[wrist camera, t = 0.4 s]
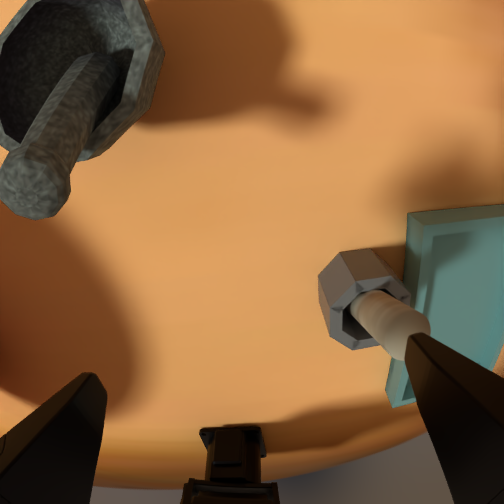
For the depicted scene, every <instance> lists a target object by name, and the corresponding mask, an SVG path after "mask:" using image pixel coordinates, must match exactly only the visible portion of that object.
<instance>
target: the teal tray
mask: <svg viewBox="0 0 504 504" xmlns="http://www.w3.org/2000/svg"><path fill="white" fill-rule="evenodd" d="M403 284H404V286H405V287H406V288H407V289H408V291H409V292H410V293H411V298H410V305H409V306H410V307H411V308H413V309H415V310H417V311H418V312H420V313H422V314H423V315H425V316H426V317H427V319H428V321H429V323H430V327H431V335H430V336H431V337H432V338H434V339H436V340H438V341H439V342H441V343H443V344H445V345H446V346H448V347H450V348H452V349H453V350H455V351H457V352H459V353H460V354H462V355H464V356H466V357H467V358H469V359H471V360H473V361H474V362H476V363H478V364H480V365H481V366H483V367H485V368H487V369H488V370H490V371H492V370H493V368H494V366H495V363H496V361H497V359H498V356H499V354H500V351H501V349H502V346H503V344H504V204H501V205H489V206H477V207H466V208H455V209H445V210H434V211H424V212H414V213H407V234H406V250H405V263H404V274H403ZM385 391H386V393H387V396H388V398H389V401H390V403H391V406H392V408H395V407H399V406H403V405H406V404H410V403H414V402H416V399H415V395H414V392H413V388H412V385H411V382H410V379H409V375H408V372H407V369H406V366H405V361H401V360H396V359H394V358H393V357H392V359H391V364H390V369H389V374H388V379H387V384H386V388H385Z"/></svg>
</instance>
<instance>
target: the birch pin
mask: <svg viewBox="0 0 504 504" xmlns="http://www.w3.org/2000/svg"><path fill="white" fill-rule="evenodd" d="M345 309H346V310H347V311H348V312H349V313H350V314H351V315H352V316H353V317H354V318H355V319H356V320H357V321H358V322H359V323H360V324H361V325H362V326H363V327H364V328H365V329H366V330H367V331H368V332H369V334H370V335H371V336H372V337H373V338H374V339H375V340H376V341H377V342H378V343H379V344H380V345H381V346H382V347H383V348H384V349H385V350H386V351H387V352H388V354H389V355H390V356H391V357H393V358H394V359H396V360H401V361H404V356H405V350H406V344H407V339H408V336H409V335H411V334H415V333H419V332H423V333H425V334H427V335H429V336H430V335H431V327H430V323H429V321H428V319H427V317H426V316H425V315H423V314H422V313H420V312H418V311H417V310H415V309H413V308H411V307H410V306H408V305H406V304H404V303H403V302H401V301H399V300H397V299H395V298H394V297H392V296H390V295H388V294H386V293H385V292H383V291H381V290H379V289H377V290H371V291H364V292H360V293H359V294H358V295H357V296H356V297H355V298H354V299H353V300H352V301H351V302H350V303H349V304H348V305H347V306H346V307H345Z"/></svg>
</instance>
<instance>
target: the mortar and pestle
mask: <svg viewBox="0 0 504 504" xmlns="http://www.w3.org/2000/svg"><path fill="white" fill-rule="evenodd" d="M164 56H165V51H164V48H163V46H162V43H161V41H160V38H159V36H158V33H157V31H156V28H155V26H154V23H153V21H152V18H151V16H150V13H149V11H148V8H147V6H146V4H145V2H144V0H27V1H26V3H25V4H24V5H23V6H22V7H21V9H20V10H19V11H18V12H17V14H16V15H15V16H14V17H13V19H12V20H11V21H10V22H9V24H8V25H7V26H6V28H5V29H4V30H3V32H2V33H1V35H0V145H1V146H2V147H3V148H5V149H6V150H8V151H9V153H8V155H7V157H6V159H5V160H4V162H3V164H2V166H1V168H0V200H1V201H2V202H3V203H4V204H5V205H6V206H7V207H8V208H9V209H11V210H12V211H13V212H14V213H15V214H16V215H20V216H23V217H26V218H29V219H33V220H39V219H44V218H48V217H53V216H55V215H56V214H57V213H58V211H59V210H60V209H61V208H62V206H63V205H64V204H65V203H66V201H67V200H68V197H69V195H70V192H71V186H70V173H71V171H72V169H73V167H74V165H75V163H76V162H80V161H85V160H89V159H92V158H94V157H97V156H100V155H101V154H102V153H104V152H105V151H106V150H107V149H109V148H110V147H111V146H112V145H113V144H114V143H115V142H116V141H117V140H118V139H119V138H120V137H121V136H122V135H123V134H124V133H125V132H126V131H127V130H128V129H129V128H130V127H131V126H132V125H133V124H134V123H135V122H136V121H137V120H138V119H139V118H140V117H141V116H142V115H143V114H144V113H145V112H146V111H148V110H149V109H150V106H151V102H152V99H153V95H154V91H155V87H156V83H157V80H158V76H159V73H160V69H161V66H162V62H163V59H164Z"/></svg>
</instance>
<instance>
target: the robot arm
mask: <svg viewBox="0 0 504 504" xmlns="http://www.w3.org/2000/svg"><path fill="white" fill-rule="evenodd" d="M404 361H405V366H406V369H407V372H408V375H409V379H410V382H411V385H412V388H413V392H414V395H415V399H416V402H417V405H418V408H419V411H420V414H421V416H422V419H423V421H424V423H425V426H426V428H427V431H428V433H429V435H430V438H431V441H432V443H433V446H434V448H435V451H436V454H437V456H438V459H439V461H440V464H441V467H442V470H443V472H444V475H445V478H446V481H447V484H448V486H449V489H450V492H451V495H452V498H453V501H454V504H504V378H502V377H500V376H499V375H497V374H495V373H493V372H492V371H490V370H488V369H487V368H485V367H483V366H481V365H480V364H478V363H476V362H474V361H473V360H471V359H469V358H467V357H466V356H464V355H462V354H460V353H459V352H457V351H455V350H453V349H452V348H450V347H448V346H446V345H445V344H443V343H441V342H439V341H438V340H436V339H434V338H432V337H431V336H429V335H427V334H425V333H423V332H419V333H415V334H411V335H409V336H408V339H407V344H406V350H405V356H404ZM106 405H107V392H106V390H105V388H104V386H103V385H102V383H101V381H100V380H99V378H98V376H97V375H96V374H95V373H92V372H84V373H81V374H80V375H79V376H77V377H76V378H75V379H74V380H72V381H71V382H70V383H69V384H67V385H66V386H65V387H64V388H62V389H61V390H60V391H58V392H57V393H56V394H55V395H53V396H52V397H51V398H50V399H48V400H47V401H46V402H45V403H43V404H42V405H41V406H40V407H38V408H37V409H36V410H35V411H33V412H32V413H31V414H30V415H28V416H27V417H26V418H25V419H23V420H22V421H21V422H20V423H18V424H17V425H16V426H15V427H13V428H12V429H11V430H10V431H8V432H7V434H4V435H3V436H2V437H1V438H0V504H89V502H90V497H91V492H92V486H93V481H94V476H95V470H96V465H97V461H98V456H99V451H100V447H101V442H102V435H103V428H104V420H105V412H106ZM199 435H200V437H201V439H202V441H203V443H204V445H205V447H206V449H207V461H206V471H205V480H197V479H195V478H189V481H188V483H185V484H184V488H183V495H182V499H181V502H180V504H280V501H279V494H278V486H277V482H275V483H274V482H272V483H261V458H264V457H266V449H265V445H264V440H263V436H262V431H261V428H260V427H243V428H223V429H201V430H200V431H199Z"/></svg>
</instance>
